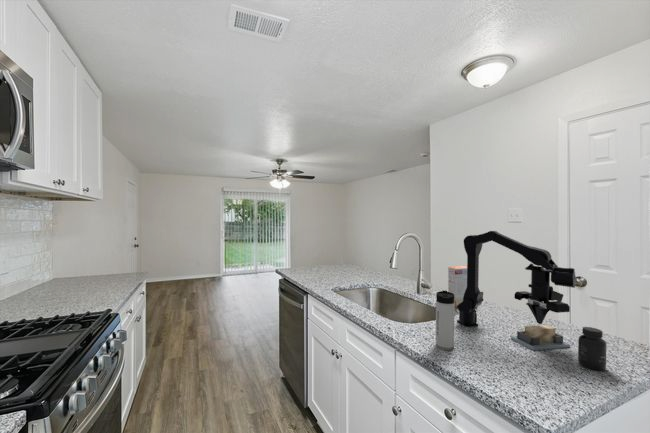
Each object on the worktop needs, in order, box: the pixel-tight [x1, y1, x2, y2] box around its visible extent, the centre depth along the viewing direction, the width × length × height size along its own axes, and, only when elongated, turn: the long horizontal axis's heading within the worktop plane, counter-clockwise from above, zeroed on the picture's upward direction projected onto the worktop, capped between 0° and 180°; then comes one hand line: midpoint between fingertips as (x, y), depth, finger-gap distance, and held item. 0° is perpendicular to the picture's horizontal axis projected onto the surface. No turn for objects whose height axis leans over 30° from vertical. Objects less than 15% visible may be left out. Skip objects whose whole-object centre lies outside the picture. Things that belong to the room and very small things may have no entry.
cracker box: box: [447, 265, 467, 309], centre depth 162 cm, size 14×6×21 cm, turn 106°
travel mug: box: [435, 290, 455, 351], centre depth 110 cm, size 6×7×20 cm
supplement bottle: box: [577, 326, 608, 372], centre depth 97 cm, size 7×7×12 cm
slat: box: [524, 324, 556, 343], centre depth 114 cm, size 10×4×5 cm, turn 100°
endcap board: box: [510, 330, 571, 351], centre depth 114 cm, size 16×10×4 cm, turn 101°
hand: (539, 323), depth 114 cm, fingers closed
